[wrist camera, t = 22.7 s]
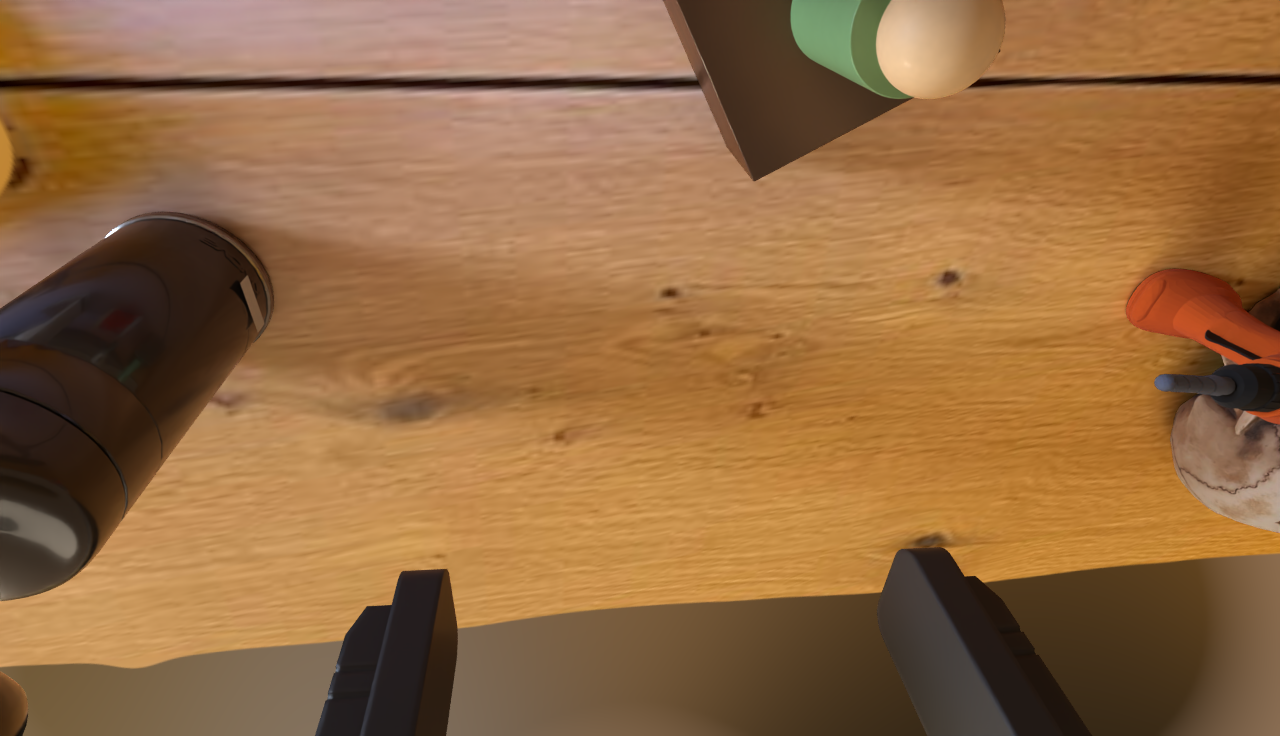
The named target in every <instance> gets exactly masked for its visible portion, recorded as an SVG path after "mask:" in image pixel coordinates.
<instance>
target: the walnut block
mask: <svg viewBox="0 0 1280 736" xmlns="http://www.w3.org/2000/svg"><path fill="white" fill-rule="evenodd" d="M663 1H664V3H665V6H666V8H667V10H668V13H669V15H670V17H671V20H672V22H673V24H674V26H675V29H676V31H677V33H678V36H679V38H680V40H681V43H682V45H683V47H684V49H685V52H686V54H687V56H688V59H689V61H690V63H691V65H692V68H693V70H694V72H695V75H696V77H697V79H698V82H699V84H700V86H701V88H702V91H703V93H704V95H705V98H706V100H707V102H708V105H709V107H710V109H711V111H712V114H713V116H714V118H715V121H716V123H717V125H718V127H719V130H720V132H721V134H722V137H723V139H724V141H725V144H726V146H727V148H728V149H729V150H730V152H731V153H732V154H733V156H734V157H735V158H736V159H737V161H738V162H739V163H740V165H741V166H742V167H743V168H744V170H745V171H746V172H747V174H748V175H749V176H750V178H751V179H752V180H753V181H756V180H758V179H760V178H762V177H764V176H766V175H768V174H769V173H771V172H773V171H775V170H777V169H779V168H781V167H783V166H785V165H787V164H788V163H790V162H792V161H794V160H796V159H798V158H800V157H802V156H804V155H806V154H807V153H809V152H811V151H813V150H815V149H817V148H819V147H821V146H823V145H825V144H826V143H828V142H830V141H832V140H834V139H836V138H838V137H840V136H842V135H844V134H845V133H847V132H849V131H851V130H853V129H855V128H857V127H859V126H861V125H863V124H864V123H866V122H868V121H870V120H872V119H874V118H876V117H878V116H880V115H881V114H883V113H885V112H887V111H889V110H891V109H893V108H895V107H897V106H899V105H900V104H902V103H904V102H906V101H908V100H910V99H912V98H914V97H911V98H906V99H894V98H887V97H884V96H881V95H879V94H876V93H874V92H872V91H871V90H869V89H867V88H865V87H863V86H861V85H859V84H857V83H855V82H853V81H851V80H849V79H847V78H845V77H843V76H842V75H840V74H838V73H836V72H834V71H832V70H830V69H828V68H826V67H824V66H822V65H820V64H818V63H816V62H815V61H813V60H811V59H810V58H808V57H807V56H806V55H805V54H804V53H803V52H802V51H801V49H800V48H799V46H798V45H797V43H796V41H795V38H794V36H793V32H792V28H791V5H792V0H663ZM999 52H1000V50H999ZM999 52H998V53H999Z"/></svg>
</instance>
